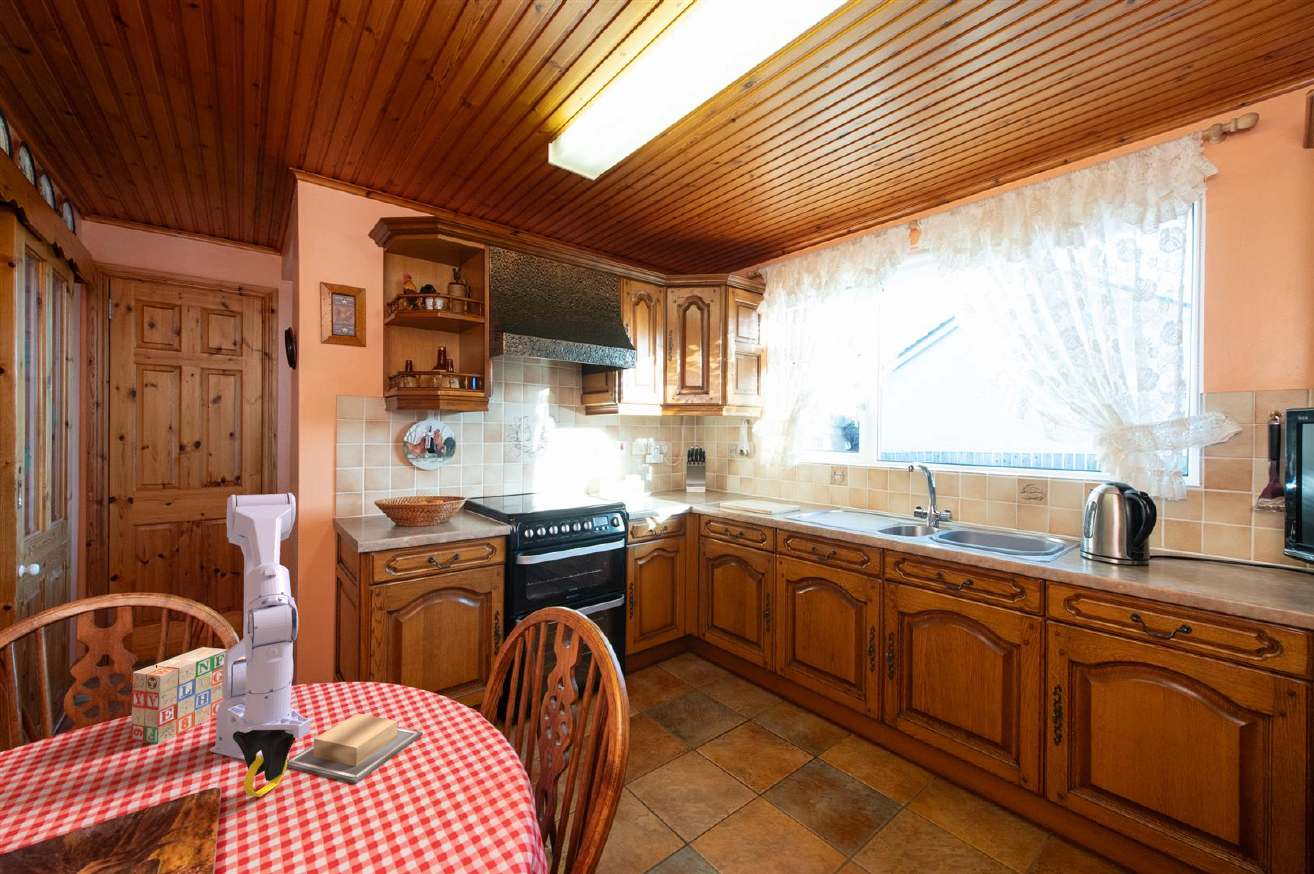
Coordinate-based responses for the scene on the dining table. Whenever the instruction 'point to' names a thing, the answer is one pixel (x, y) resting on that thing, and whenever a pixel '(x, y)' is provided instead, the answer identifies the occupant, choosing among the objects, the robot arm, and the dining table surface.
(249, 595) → the robot arm
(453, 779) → the dining table surface
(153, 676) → the stack of blocks
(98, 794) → the dining table surface
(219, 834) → the dining table surface
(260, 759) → the watch
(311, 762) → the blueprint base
